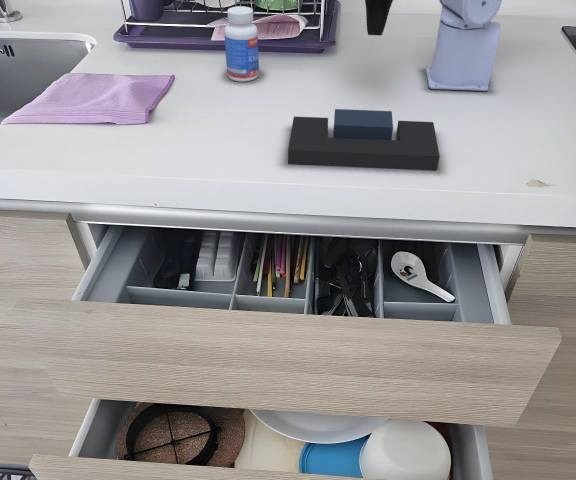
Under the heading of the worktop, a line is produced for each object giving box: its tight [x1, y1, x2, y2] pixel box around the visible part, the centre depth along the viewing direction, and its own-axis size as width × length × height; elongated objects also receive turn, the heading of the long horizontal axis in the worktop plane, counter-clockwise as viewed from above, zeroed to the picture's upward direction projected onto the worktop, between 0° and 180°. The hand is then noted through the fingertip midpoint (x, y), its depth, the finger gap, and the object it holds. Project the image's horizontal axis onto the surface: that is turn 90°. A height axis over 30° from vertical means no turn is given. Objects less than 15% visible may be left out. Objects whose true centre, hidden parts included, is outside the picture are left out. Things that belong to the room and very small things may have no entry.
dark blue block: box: [332, 108, 394, 140], centre depth 81 cm, size 8×5×4 cm, turn 85°
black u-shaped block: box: [287, 115, 440, 171], centre depth 81 cm, size 20×10×2 cm, turn 85°
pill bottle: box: [223, 5, 260, 82], centre depth 95 cm, size 6×5×10 cm
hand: (374, 25), depth 87 cm, fingers open, 7 cm apart
